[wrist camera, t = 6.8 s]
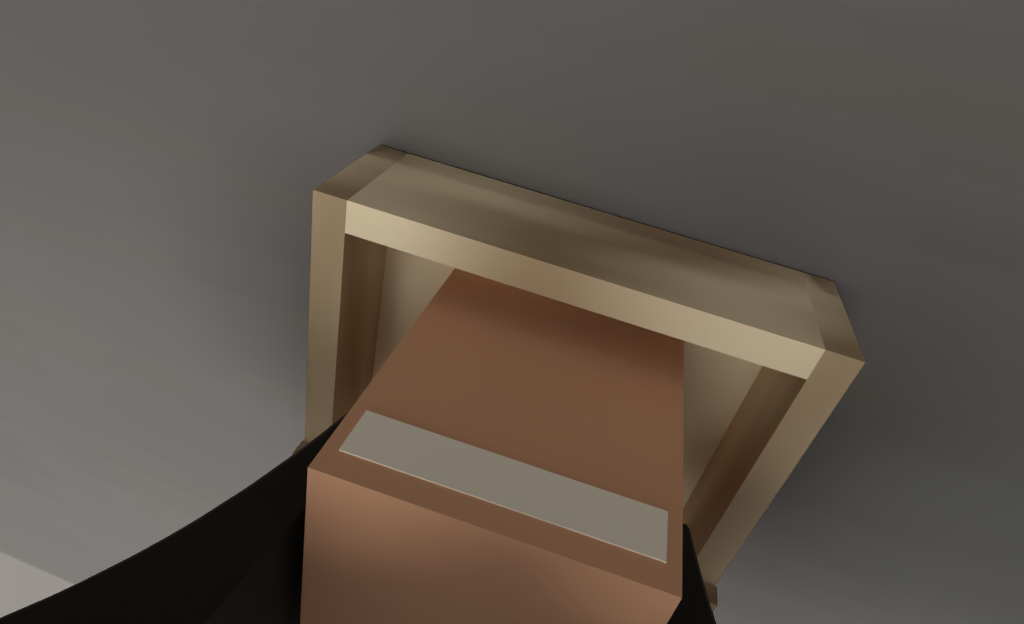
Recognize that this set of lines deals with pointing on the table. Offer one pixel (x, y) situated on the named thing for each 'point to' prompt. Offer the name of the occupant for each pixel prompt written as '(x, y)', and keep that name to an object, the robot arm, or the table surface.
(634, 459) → the brown cardboard box
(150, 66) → the table surface
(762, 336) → the light wooden tray
